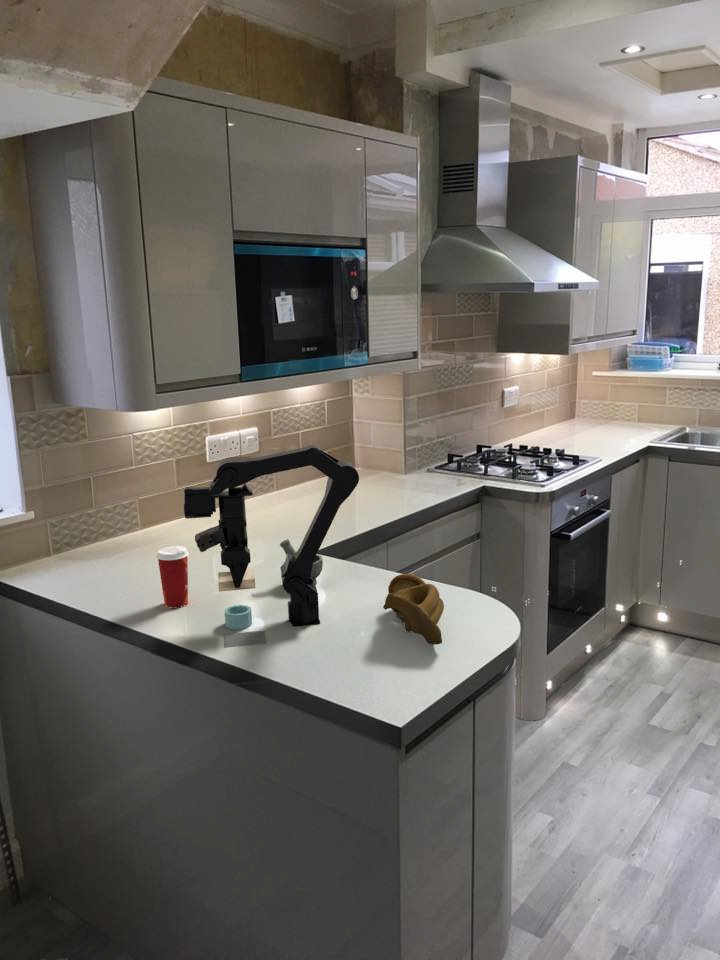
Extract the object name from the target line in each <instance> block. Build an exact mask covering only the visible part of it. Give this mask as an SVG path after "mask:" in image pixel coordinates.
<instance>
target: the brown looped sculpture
mask: <svg viewBox="0 0 720 960" xmlns="http://www.w3.org/2000/svg"><path fill="white" fill-rule="evenodd" d="M387 589H388V591H387V592H388V594H387V595H386V597H385V602H384V605H383V606H382V608H383V610H385V611H386V610H388V609H391V610H392V612H394V613H396V614H395V615H396V617H397V618H398V619H399V620H400V621H401V623H402V624H403V623H404V630H405V632H407V633H414V634H416V635H420V636H422V638H423V639H424V640H425V641H426V642H427V643H428V644H429V645H437V646H438V645H441V644H443V638H442V631H441V628H440V627H439V625H438V622H439V621H440V619H441V617H442V615H443V612H444V608H445V604H444V601H443V599H442V598H441V597H440V592H439V590H438V588H437V586H435V584H432V583H426V582H425V581H424V580H423V579H422V578H421V577H419V576H418V575H416V574H413V573H402V574H398V575H396V576H394V577H393V578H392V579H391V581H390V583H389V585H388V587H387Z"/></svg>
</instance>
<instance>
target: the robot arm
mask: <svg viewBox="0 0 720 960" xmlns="http://www.w3.org/2000/svg"><path fill="white" fill-rule="evenodd" d="M308 466H311V467H313V468H315V469H317V470H318V471H320V472H321V473H322V474H324V475H325V476H326V477H327V481H326V487H325V491H324V496H323V497H322V499H321V502H320V504H319V506H318V508H317V510H316V513H315V514H314V517H313V519H312V521H311V522H310V525H309V526H308V530H307V531H306V533H305V536H304V538H303V539H302V541H301V543H300V546H299V548H298V549H297V550H296V553H295V554H294V555H293V556H292V555H291V554H289V553H287V555H286V556H285V561H283V564H281V566H280V572H281V573H280V577H281V583H282V588H283V590H284V592H286V593H287V594H289V601H287V615H288V616H287V617H288V622H289V623H290V624H291V627H293V628H294V627H295V628H296V627H304V626H317V625H321V621H320V620H321V619H320V610H319V609H320V607H319V593H318V589H317V585H315V581H314V580H313V579H312V578H311V572H312V567H313V562H314V559H315V557H316V554H317V555H318V553H319V550H320V548H321V546H322V543H323V542H324V540H325V538H326V536H327V534H328V531H329V530H330V527H331V526H332V524H333V522H334V520H335V517H336V515H337V513H338V511H339V509H340V507H341V506H342V504H343V503H344V502H345V501H346V500H348V498H349V497H350V496H351V494H352V493H353V492H354V490H355V489H356V488H357V487H358V484H359V482H360V475H359V473H358V470H357V469H356V468H355V467H354V465H353V464H352V463H351V462H349V461H347V460H339V459H337V458H336V457H334V456H333V455H331V454H329V453H327V452H325V450H322V449H321V448H320V447H318V445H316V444H315V445H314V444H310V445H307V446H306V447H300V448H296V449H292V450H286V451H281V452H277V453H271V454H267V455H263V456H257V457H250V456H249V457H247V456H237V457H236V456H235V457H233V456H230V457H226V458H222V460H221V461H220V462H219V463H218V465H217V467H216V475H215V477H214V478H213V479H212V481H210V484H209V486H201V487H199V486H198V487H192V486H188V487H187V486H186V487H185V488H184V491H183V492H184V497H183V498H184V502H183V503H184V504H183V512H184V518H185V520H188V519H202V518H212V516H213V515H214V513H217V500H216V499H218V510H219V519H218V525H215V526H212V527H210V528H207V529H205V530H202V531H200V532H198V533H196V534H195V535H194V541H195V543H196V547H197V548H198V549H199V552H200V553H204V552H206V551H207V550H209V549H211V548H213V547H216V546H218V545H219V547H220V549H221V550H220V563H221V565H222V566H226V567H227V568H228V569H229V572H231V576H232V579H233V583H234V586H235V588H239V587H240V586H241V583H242V580H243V577H244V575H245V572H246V570H248V566H249V564H250V563H251V553H250V552H251V551H250V548H249V544H248V541H249V540H248V531H247V529H248V528H247V516H246V515H247V514H246V513H247V512H246V499H245V498H246V497H251V496H253V495H254V493H253V489H252V488H250V487H249V486H248V485H247V483H249V482H251V481H253V480H254V479H257V478H260V477H263V476H267V475H273V474H276V473H281V472H285V471H291V470H294V469H301V468H304V467H305V468H306V467H308Z"/></svg>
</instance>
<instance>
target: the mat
mask: <svg viewBox="0 0 720 960" xmlns="http://www.w3.org/2000/svg"><path fill="white" fill-rule="evenodd" d="M266 644H267V639H266V631H265V630H257V631H245V632H236V633H235V632H234V633H233V632H232V633H224V634H223V646H224V647H223V648H226V649H227V648H234V647H245V646H256V645H266Z"/></svg>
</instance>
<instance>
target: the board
mask: <svg viewBox="0 0 720 960" xmlns="http://www.w3.org/2000/svg"><path fill="white" fill-rule="evenodd" d="M217 579H218V581H217V583H218V592H230V591H231V592H232V591H239V590H240V591H242V590H252V589H253V590H254V589H256V578H255V571H254V569H246V572H245V575H244V577H243V580H242V583H241V586H240V587H239V588H235V586H234V583H233V579H232V576H231V572H230V571H221V572H219V571H218V573H217Z"/></svg>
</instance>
